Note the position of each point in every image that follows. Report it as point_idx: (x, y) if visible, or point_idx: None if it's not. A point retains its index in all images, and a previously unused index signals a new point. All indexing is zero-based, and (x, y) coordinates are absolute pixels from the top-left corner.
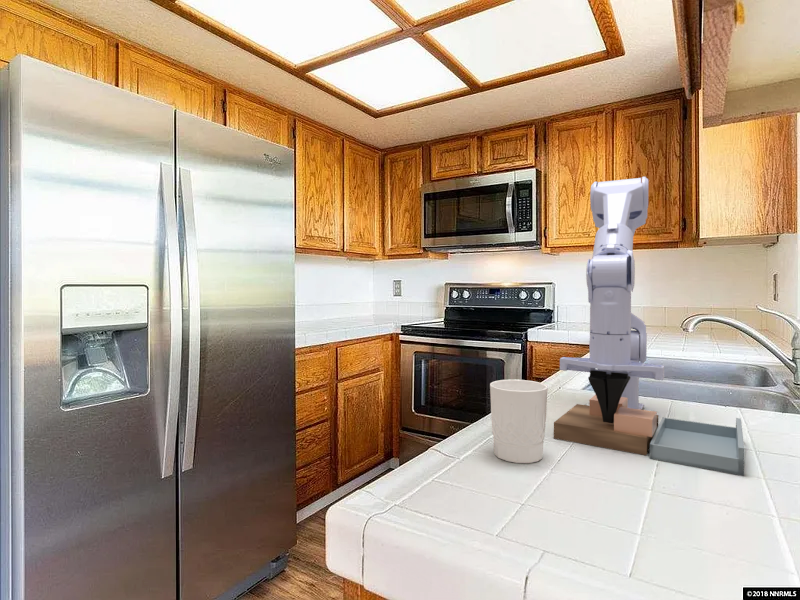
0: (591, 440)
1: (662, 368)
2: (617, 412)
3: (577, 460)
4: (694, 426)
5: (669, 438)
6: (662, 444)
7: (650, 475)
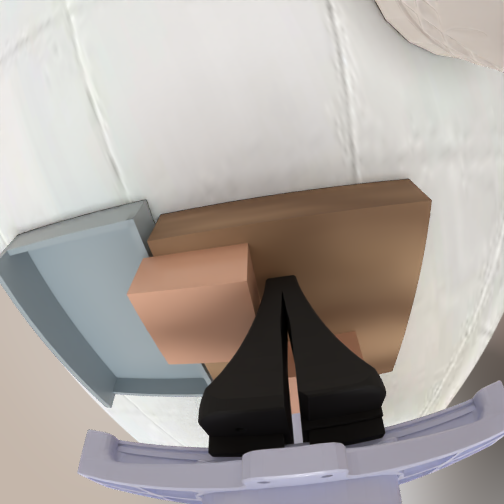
0: (307, 196)
1: (78, 469)
2: (245, 303)
3: (286, 38)
4: (166, 387)
5: None
6: None
7: (95, 87)
